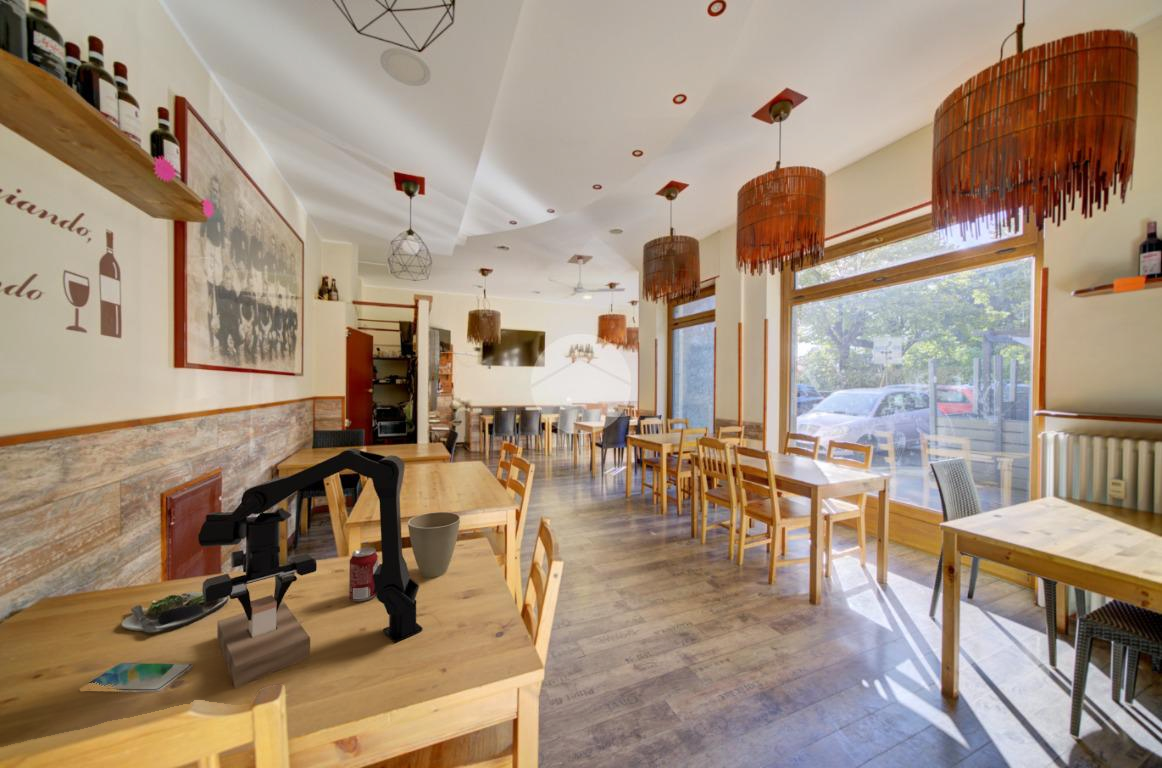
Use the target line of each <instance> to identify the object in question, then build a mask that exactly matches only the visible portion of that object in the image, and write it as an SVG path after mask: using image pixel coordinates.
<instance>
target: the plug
mask: <svg viewBox="0 0 1162 768" xmlns="http://www.w3.org/2000/svg"><path fill="white" fill-rule="evenodd" d="M250 603H251V612H252V617H251V620H250V621H249V635H250V637H251V638H253V637H256V636H259V635H262V634H265V633H267V632H270V631H273V630H276V607H277V601H276V600H275V598H274V594H271V595H266V596H264V597H261V598H257V599H254V600H250Z"/></svg>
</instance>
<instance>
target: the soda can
mask: <svg viewBox="0 0 1162 768" xmlns="http://www.w3.org/2000/svg"><path fill="white" fill-rule="evenodd" d="M378 566H379V555H378V553H377V552H376V548H374V547H363V548H362V547H361V548H359V549H357V550H354V551H353V552H352V555H351V557H350V559H349V573H348V574H349V576H348V577H349V585H348V586H349V590H348V594H349V596H348V597H349V600H351V601H353V602H366V601H369V600H371V599H372V598H374V597H375V596H377V595H376V593H377V592H376V593H375V594H373V592H374V587H375V585H374V581H373V574H374V572H375V571H376V569H377V568H378Z"/></svg>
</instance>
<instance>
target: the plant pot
mask: <svg viewBox="0 0 1162 768" xmlns="http://www.w3.org/2000/svg"><path fill="white" fill-rule="evenodd" d="M460 522H461V516H460V514H458V513H455V512H451V511H450V512H449V511H447V512H446V511H435V512H427V513H423V514H422V513H421V514H419V515H416V516H413V517H412V518H410V519H409V520H408V521H407V526H408V527H407V528H408V534H409V540H410V544H411V548H412V549H411V550H412V552H413V556H414V559H415V562H416V565H417V567H418V570H419V573H420V575H421V576H422V577H424V578H436V577H440V576H442V575H445V574H446V573H447V572H448V569H449V565H450V564H451V560H452V558H453V555H454V550H455V548H456V543H457V538H458V535H459V528H460Z"/></svg>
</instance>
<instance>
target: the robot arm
mask: <svg viewBox="0 0 1162 768" xmlns="http://www.w3.org/2000/svg"><path fill="white" fill-rule="evenodd" d="M344 470H350V471H353V472H354V473H356V474H359V475H360V476H363V477H366V478H369V479H371V480H372V486H373V488H374V492H375V493H376V496H377V498H378V501H379V519H380V520H379V522H380V541H381V543H380V544H381V563H378V568H377V569H376V571H375V572H374V574H373V581H374V585H375V587H374V592H373V594H375V593H376V592H377V593H376V595H375V596H376V599H377V601H378V602H380V603H381V604H383V605H384V608H385V610H386V613H387V615H388V621H389V622H388V626H387V627H384V628H383V629H382V633H384V634H385V635H386V636H387V637H388V638H389V639H390V640H391V642H393V643H397V642H400V641H402V640H404V639H406V638H409V637H411V636H412V635H415V634H417V633H420V632H422V631H423V627H422V626H421V625H420V624H419V623H418V622H417V600H416V597H417V594H418V592H419V589H420V585H419V584H418V583H417V582H416V581H415V580H413V579H412V578H411V577H410V573H409V569H408V568H409V567H408V565H407V562H406V560H405V558H404V556H403V544H402V543H403V542H402V541H403V540H402V522H401V521H402V520H401V500H400V498H401V497H400V495H401V490H402V486H403V481H404V475H405V463H404V460H403V459H401V458H400V457H399V456H398V455H393V454H392V455H391V454H390V455H387V456H385V455H383V454H379V453H374V452H369V451H365V450H361V449H358V448H356V447H354V448H353V447H352V448H347V449H345V450H343V451H341V452H340V453H339V454H337V455H335V456H332V457H331V458H328V459H326V460H324V461H321V462H319V463H317V464H314V465H312V466H310V467H308V468H305V469H303V470H300V471H299V472H296V473H294V474H290V475H286V476H285V475H284V476H281V477H277V478H274V479H269V480H267V481H264V482H261V483H260V484H257V485H255V486H252V487H249V488H248V489H246V490H245V491H244V492H243V493H242V497H241V500H240V501H241V503H239V505H238V506H237V507H236V508H235V510H234V511H231V512H230V511H229V512H228V511H227V512H222V511H213V512H210V513H208V514H206V515H205V521H204V522H203V524H202V526H201V527H200V531H199V533H198V536H197V537H198V540H197V541H198V543H199V545H200V546H201V547H203V548H209V547H210V548H211V547H221V546H222V547H224V546H236V545H238V544H240V543H241V542H242V540H244V539H245V553H244V550H243V549H241V550H237V551H232V552H231V556H230V558H231V559H230V561H231V568H232V569H233V568H236V567H240V566H242V572H243V573H245V574H243V575H237V576H235V577H231V576H230V574H229V573H226V574H221V575H216V576H213V577H209V578H206V579H205V580H204V581H203V582H202V591H201V592H202V593H203V596H204V598H205V601H206V602H211V601H214V600H218V599H221V598H225V597H228V598H230V600H235V599H237V600H238V602H239V603H240V604H241V606H242V609H243V611H244V613H246V616H247V618H248V620H249V621H250V620H251V617H252V612H251V603H250V601H251V595H250V591H249V589H248V587H247V586H248V585H249V584H252V583H255V582H259V581H264V580H267V579H271V578H274V581H275V584H274V585H275V587H274V594H273V597H274V598H275V600H276V601H277V607H276V612H277V610H278V608H279V606H280V603H281V601H283V600H284V597H285V595H286V593H287V592H288V590H289V588H290V587H291V585H292V583H293V582H296V581H298V577H297V576H296V574H297V575H298V576H300V577H301V576H305V575H309V574H312V573H315V572H316V571H317V559H315V558H314V557H313V556H312V555H311V554H310V553H304V554H301V555H300V554H299V555H295V556H291V557H290V559H289V562H288V563H285V564H281V565H280V554H281V553H280V552H281V546H280V543H281V542H280V541H281V540H280V535H281V530H280V529H281V528H280V527H281V526H280V523H282V522H285V521H287V520H288V519H290V518H291V517H292V513H290V512H289V511H287V510H286V509H284V507H279V508H278V509H277V510H276V511H271V512H270V511H269V512H267V511H268V510H270V509H273V508H274V507H276V506H277V505H279V504H281V503H282V502H284V501H285V500H287V499H288V498H290V497H292V495H294V494H295V493H297V492H298V491H300V490H303V489H305V488H307V487H309V486H312V485H314V484H316V483H318V482H320V481H322V480H324V479H327V478H329V477H331V476H334V475H336V474H338V473H340V472H343V471H344ZM251 515H257V516H251Z"/></svg>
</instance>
